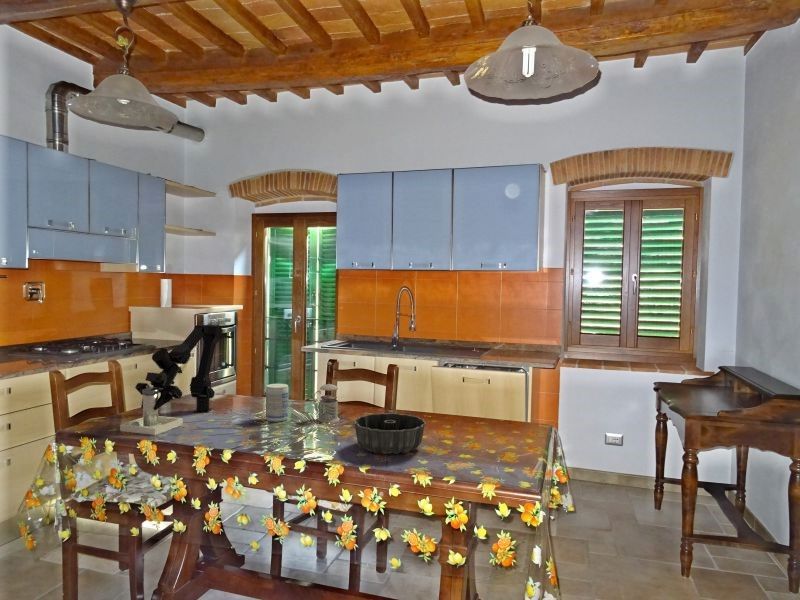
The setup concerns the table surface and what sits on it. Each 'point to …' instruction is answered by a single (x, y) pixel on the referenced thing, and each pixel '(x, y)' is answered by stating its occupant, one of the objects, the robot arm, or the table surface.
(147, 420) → the shaker
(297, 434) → the table surface
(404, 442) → the bundt pan
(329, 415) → the french press
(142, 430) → the tray
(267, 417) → the supplement tub
